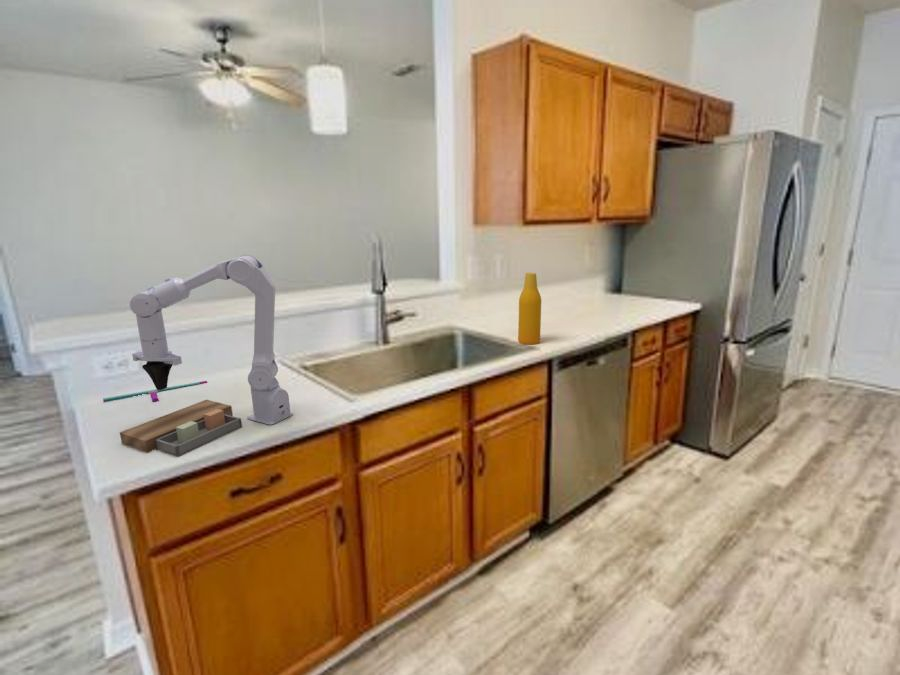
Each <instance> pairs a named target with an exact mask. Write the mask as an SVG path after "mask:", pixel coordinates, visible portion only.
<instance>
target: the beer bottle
mask: <svg viewBox="0 0 900 675" xmlns="http://www.w3.org/2000/svg"><path fill="white" fill-rule="evenodd" d="M537 279H538V278H537V273H536V272H526V273H525V276H524V284H523V289H522V291H521V293H520V295H519V298H518V327H517V328H518V332H517V333H518V335H517V340H518V343H520V344H521V345H529V346H530V345H531V346H532V345H533V346H534V345H537V344H540V343H541V324H542V323H541V322H542V321H541V319H542V296H541V294H540V292H539V289H538V280H537Z"/></svg>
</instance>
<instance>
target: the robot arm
mask: <svg viewBox="0 0 900 675" xmlns="http://www.w3.org/2000/svg"><path fill="white" fill-rule="evenodd" d="M217 279H218V280H219V279H220V280H222V281H229V280H230V279H231V280H232V282H235V283H237V284H238V285H241V286H244V287H246V288H247V289H248V290H249V291H250V292H251V293H253V295H254V300H255V301H254V331H253V332H254V336H253V337H254V342H253V356H252V362H251V370H250V372H249V374H248V375H247V381H248V384H249V386H250V393H251V402H252V409H253V414H251V415H249V416H247V417H246V418H247V420H250V421H254V422H259V423H261V424H266V425H270V426H273V425H274V424H277V423H278V422H281V421H283V420H285V419H286V418H289V417H291V416H293V414H294V413H293V412H291V406H290V405H291V404H290V399H289V398H290V397H289V393H288V392H287V390H286V389H284V388H282V387H281V385H280V382H279V381H278V379H277V378H276V376H277V374H278V372H279V370H278V369H279V368H278V364H277V362H276V360H275V356H276V355H275V353H274V342H275V341H274V336H275V311H276V310H275V307H276V306H275V305H276V304H275V302H276V286H275V284H274V282H273V280H272V278H270V275H269V274H268V272H267V270H266V269H265V266H264V264H263V263H262V262H261V261H260V260H258V258H256V257H255V256H253V255H251V254H243V255H240V256H238V257H234V258H230V259H226V260H223V261H220V262H219V261H218V262H217V263H215V264H213V265H210V266H208V267H206V268H204V269H203V270H200V271H198V272H197V273H194V274H192V275H189V277H186V278H181V277H178V276H177V277H173V278H172V277H171V276H169V277H167V278H164V282H162V283H160V284H158V285H156V286H152V285H151V286H149V287H147V288H146V290H145V291H143V292H140V293H139V292H138V293H136V294H135V295H134V296H133V297H132V298H131V299H130V301H129V307H130V310H131V311H132V313H133V314H134V315H135V318H136V324H137V328H138V334H139V340H140V345H141V351H137V352H133V353H132V354H131V355H132V360H133V362H138V361H141V362H146V363H145V364H143V365H142V366H141V367H142V369H143V370H144V371H145V372H146V374H147V375H148V376H149V378H150V379H151V381H152V383H153V384H154V387H155V389H157V390H162V389H165V388H167V387H168V381H169V377H170V376H169V375H170V371H171V369H172V367H173V366H178V365H181V364H182V363H183V362H182V356H180V355H176V354H174V353H173V352H172V351H171V350H169V348H168V341H167V335H166V329H165V324H164V323H165V322H164V318H163V311H162V310H163V309H167V308H169V307H171V306H173V305H174V304H178V303H179V302H182V301H183V300H186V299H188V298H189V296H190V294H191V292H192V290H194V289H196V288H199V287H201V286H204V285H206V284H209V283H210V282H213V281H215V280H217Z"/></svg>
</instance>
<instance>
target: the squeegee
mask: <svg viewBox="0 0 900 675" xmlns="http://www.w3.org/2000/svg"><path fill="white" fill-rule="evenodd" d="M203 384H204V385H205V384H208V381H207V380H203V381H202V380H201V381H198V382H191V383H190V382H189V383H186V384H179V385H174V386H167V388H165V389H162V390H157V389H156V388H155V389H151V390H144V391H139V392H133V393H128V394H121V395H115V396H110V397H104V398H102V401H103V403H108V402H115V401H120V400H125V399H130V398H134V397H133V396H136V397H139V396H138V395H141V396H143V395H142V394H146V395H148V394H150V398H151V401H152V403H156V402H160V399H159V398H158V393H159V392H164V391H170V390H174V389H180V388H185V387H190V386H196V385H197V386H198V385H203ZM114 400H115V401H114Z"/></svg>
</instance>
